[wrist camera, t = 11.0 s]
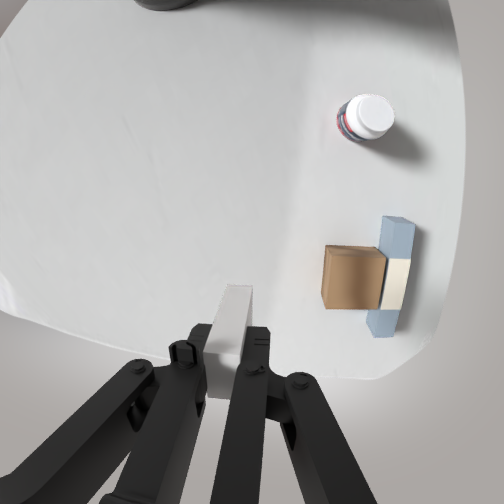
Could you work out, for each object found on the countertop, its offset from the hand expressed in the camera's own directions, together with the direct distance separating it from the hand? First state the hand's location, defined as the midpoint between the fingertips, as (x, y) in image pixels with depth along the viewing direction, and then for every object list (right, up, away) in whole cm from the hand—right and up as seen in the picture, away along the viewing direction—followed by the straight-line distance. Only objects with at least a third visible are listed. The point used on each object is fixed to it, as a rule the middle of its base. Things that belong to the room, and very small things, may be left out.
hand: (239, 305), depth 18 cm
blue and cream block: (+19, 0, +22) cm, 29 cm away
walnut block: (+14, +1, +22) cm, 26 cm away
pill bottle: (+14, +20, +17) cm, 29 cm away
